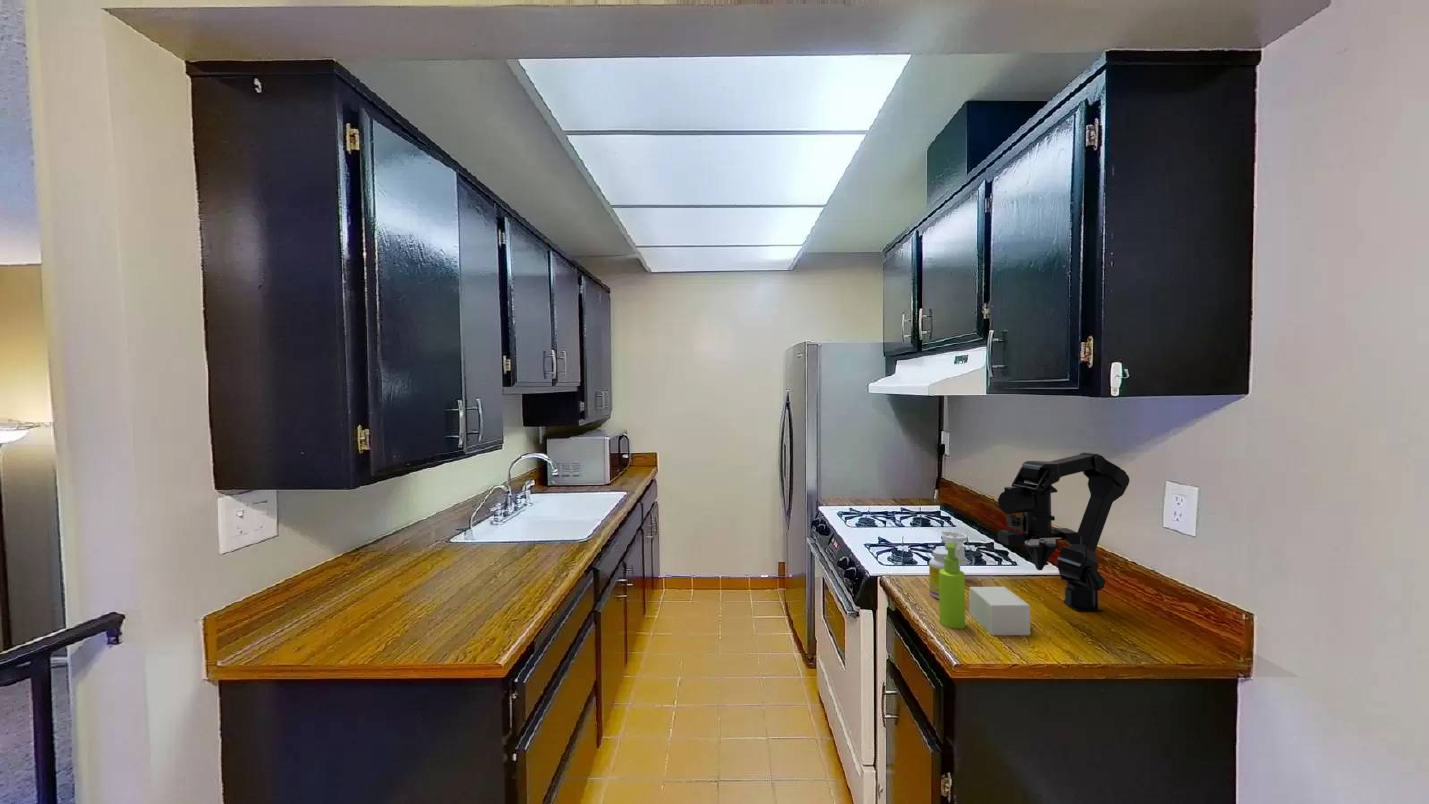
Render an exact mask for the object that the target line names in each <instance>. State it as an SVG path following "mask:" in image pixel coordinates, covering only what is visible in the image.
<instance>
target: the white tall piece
mask: <svg viewBox="0 0 1429 804" xmlns="http://www.w3.org/2000/svg"><path fill="white" fill-rule="evenodd" d="M950 536H951V537H950ZM967 541H968V535H966V534H965V533H962V532H955V531H952V530H944V529H942V530H941V542H942V543H944V550H947V551H948V549H947V544H948V543H949V542H950V543H957V545H956V548H955V557H956V558H958V559H959V570H960V571H961V566H966V565H967V564H968V558H967V557H965V544H964V542H967Z"/></svg>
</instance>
